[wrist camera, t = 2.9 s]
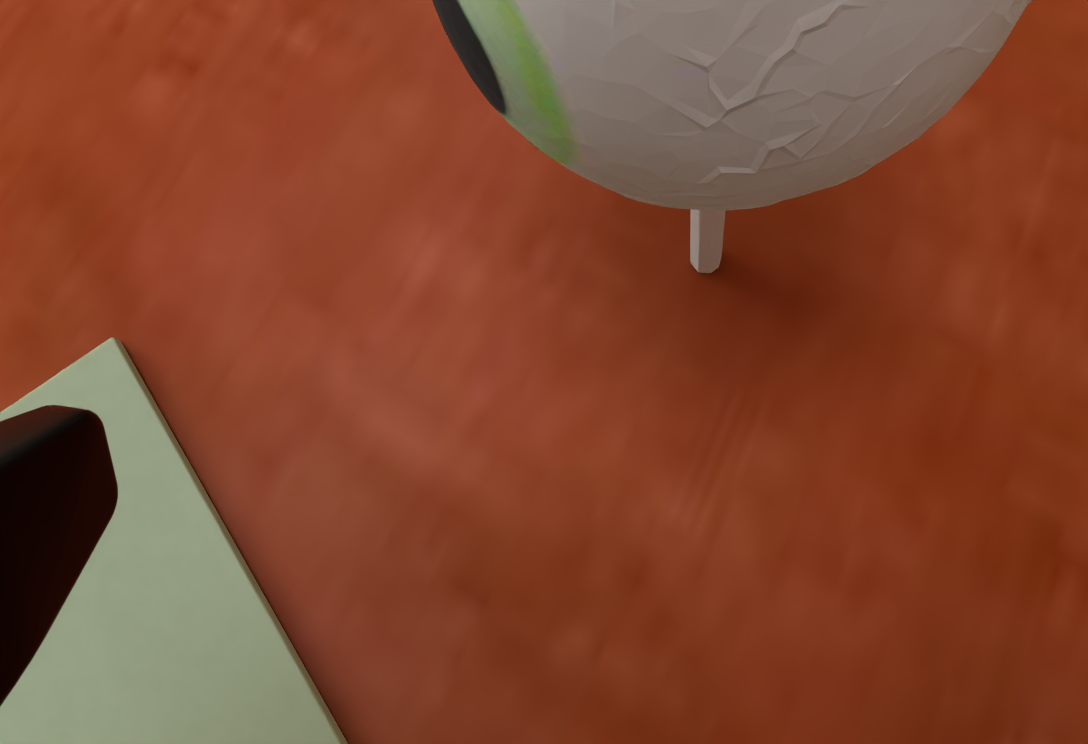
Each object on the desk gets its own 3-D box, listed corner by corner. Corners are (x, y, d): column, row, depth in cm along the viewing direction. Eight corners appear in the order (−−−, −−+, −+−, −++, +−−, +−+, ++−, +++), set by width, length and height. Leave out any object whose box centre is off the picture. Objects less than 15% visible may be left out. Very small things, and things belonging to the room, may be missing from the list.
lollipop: (488, 220, 24) (182, -449, 9) (749, 58, 24) (845, -842, 9) (658, 480, 22) (602, 136, 7) (942, 300, 22) (1438, -384, 7)
